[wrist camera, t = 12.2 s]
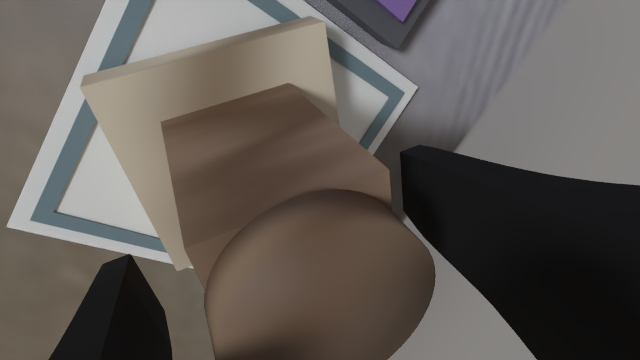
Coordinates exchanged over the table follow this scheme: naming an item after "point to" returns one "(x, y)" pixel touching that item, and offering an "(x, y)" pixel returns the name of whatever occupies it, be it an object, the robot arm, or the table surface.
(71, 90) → the form card
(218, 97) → the stamp
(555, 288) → the robot arm
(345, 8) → the ink pad
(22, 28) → the table surface
